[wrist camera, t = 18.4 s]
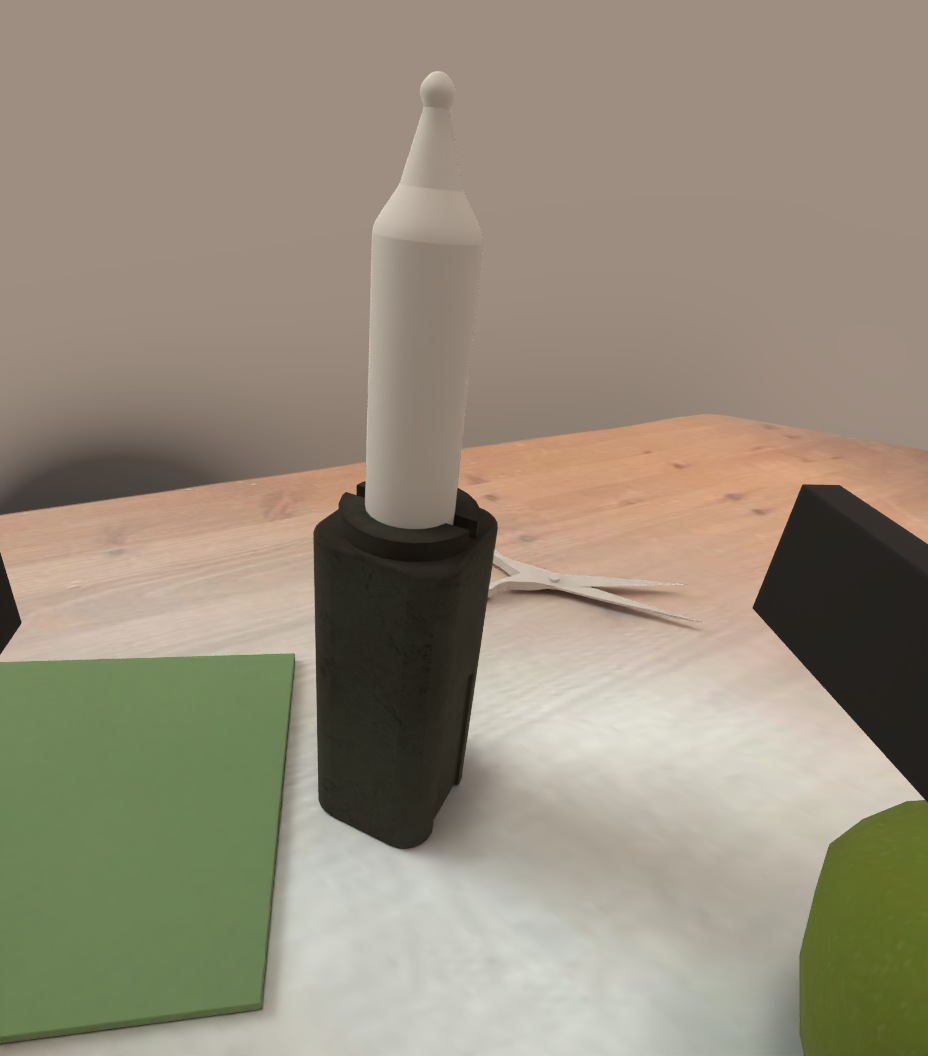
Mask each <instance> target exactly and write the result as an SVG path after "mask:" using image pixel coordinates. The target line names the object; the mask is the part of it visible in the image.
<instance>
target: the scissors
mask: <svg viewBox="0 0 928 1056" xmlns="http://www.w3.org/2000/svg"><path fill="white" fill-rule="evenodd" d="M493 564H495V565H497V566H498V567H500V568H501V569H503V570H504V571H505V572H507V573H508V574H509V575H511V576H509V577H506V578H503V579H500V580H497V581H494V582H491V583H490V584H489V591H488V598H490V597H492V596H493V595H494V594H495V593H498V592H501V591H504V590H507V589H509V590H541V589H551V590H555V589H557V590H561V591H565V592H569V593H573V594H577V595H581V596H585V597H589V598H592V599H596V600H600V601H604V602H609V603H613V604H617V605H621V606H626V607H630V608H635V609H639V610H644V611H648V612H652V613H657V614H661V615H665V616H670V617H674V618H679V619H685V620H690V621H696V622H700V621H697V620H694V619H691V618H688V617H685V616H681V615H678V614H675V613H672V612H669V611H666V610H662V609H659V608H656V607H653V606H650V605H647V604H643V603H640V602H637V601H633V600H630V599H626V598H623V597H620V596H617V595H614V594H611V593H608V592H605V591H602V590H599V589H595V588H591V587H594V586H650V585H688V584H678V583H667V582H656V581H646V580H635V579H624V578H611V577H597V576H581V575H565V574H556V573H554V572H551V571H549V570H546V569H542V568H539V567H535V566H531V565H527V564H524V563H521V562H517V561H514V560H511V559H507V558H505V557H503V556H502V555H500V554H499V553H498V552H497V551H496V549H495V550H494V557H493ZM702 623H704V622H702Z"/></svg>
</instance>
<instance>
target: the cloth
mask: <svg viewBox="0 0 928 1056" xmlns="http://www.w3.org/2000/svg"><path fill="white" fill-rule="evenodd" d="M294 662H295V654H264V655H231V656H197V657H164V658H131V659H98V660H65V661H31V662H0V1043H7V1042H15V1041H23V1040H30V1039H38V1038H45V1037H53V1036H60V1035H68V1034H76V1033H83V1032H91V1031H98V1030H106V1029H114V1028H121V1027H129V1026H136V1025H144V1024H152V1023H159V1022H167V1021H174V1020H182V1019H190V1018H197V1017H205V1016H212V1015H220V1014H227V1013H235V1012H243V1011H250V1010H258V1009H261V1007H262V997H263V986H264V976H265V965H266V955H267V944H268V934H269V924H270V913H271V903H272V892H273V882H274V871H275V861H276V850H277V840H278V829H279V819H280V809H281V798H282V788H283V777H284V767H285V756H286V746H287V735H288V725H289V714H290V704H291V694H292V683H293V673H294Z"/></svg>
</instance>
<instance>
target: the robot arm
mask: <svg viewBox="0 0 928 1056" xmlns="http://www.w3.org/2000/svg"><path fill="white" fill-rule="evenodd" d="M753 609H754V610H755V611H756V613H757V614H758V615H759V616H760V617H761V618H762V619H763V620H764V621H765V623H766V624H767V625H768V626H769V627H770V628H771V629H772V630H773V631H774V633H775V634H776V635H777V636H778V637H779V638H780V639H781V640H782V641H783V642H784V644H785V645H786V646H787V647H788V648H789V649H790V650H791V651H792V652H793V654H794V655H795V656H796V657H797V658H798V659H799V660H800V661H801V662H802V664H803V665H804V666H805V667H806V668H807V669H808V670H809V671H810V672H811V674H812V675H813V676H814V677H815V678H816V679H817V680H818V681H819V682H820V684H821V685H822V686H823V687H824V688H825V689H826V690H827V691H828V692H829V694H830V695H831V696H832V697H833V698H834V699H835V700H836V701H837V702H838V704H839V705H840V706H841V707H842V708H843V709H844V710H845V711H846V712H847V714H848V715H849V716H850V717H851V718H852V719H853V720H854V721H855V722H856V723H857V725H858V726H859V727H860V728H861V729H862V730H863V731H864V732H865V733H866V735H867V736H868V737H869V738H870V739H871V740H872V741H873V742H874V743H875V745H876V746H877V747H878V748H879V749H880V750H881V751H882V752H883V753H884V755H885V756H886V757H887V758H888V759H889V760H890V761H891V762H892V763H893V765H894V766H895V767H896V768H897V769H898V770H899V771H900V772H901V773H902V775H903V776H904V777H905V778H906V779H907V780H908V781H909V782H910V783H911V785H912V786H913V787H914V788H915V789H916V790H917V791H918V792H919V793H920V795H921V796H922V797H923V798H924V799H925V800H926V801H927V802H928V544H927V543H925V542H924V541H922V540H921V539H919V538H918V537H916V536H915V535H913V534H912V533H910V532H909V531H907V530H906V529H904V528H903V527H901V526H900V525H898V524H897V523H895V522H894V521H892V520H891V519H889V518H888V517H886V516H885V515H883V514H882V513H880V512H879V511H877V510H876V509H874V508H873V507H871V506H870V505H868V504H867V503H865V502H864V501H862V500H861V499H859V498H858V497H856V496H855V495H853V494H852V493H850V492H849V491H847V490H846V489H844V488H843V487H842V486H840V485H805V484H803V485H802V487H801V490H800V492H799V495H798V497H797V499H796V502H795V504H794V507H793V509H792V512H791V514H790V517H789V519H788V522H787V524H786V527H785V529H784V532H783V534H782V536H781V539H780V541H779V544H778V546H777V549H776V551H775V554H774V556H773V559H772V561H771V564H770V566H769V569H768V571H767V573H766V576H765V578H764V581H763V583H762V586H761V588H760V591H759V593H758V596H757V598H756V601H755V603H754V606H753ZM20 625H21V619H20V616H19V613H18V609H17V606H16V603H15V600H14V596H13V593H12V590H11V586H10V583H9V580H8V576H7V573H6V570H5V567H4V563H3V560H2V557H1V553H0V654H1V653H2V651H3V650H4V648H5V647H6V645H7V644H8V642H9V641H10V639H11V638H12V636H13V635H14V634H15V632H16V631H17V629H18V628H19V626H20Z"/></svg>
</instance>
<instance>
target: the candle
mask: <svg viewBox="0 0 928 1056" xmlns="http://www.w3.org/2000/svg"><path fill="white" fill-rule="evenodd" d="M420 95H421V99H422V102H423V105H424V109H423V112H422V115H421V118H420V121H419V124H418V128H417V131H416V134H415V137H414V140H413V143H412V146H411V150H410V153H409V156H408V159H407V162H406V165H405V169H404V172H403V175H402V178H401V181H400V184H399V186H398V187H397V189H396V190H395V192H394V193H393V195H392V196H391V198H390V199H389V201H388V202H387V203H386V205H385V206H384V208H383V209H382V211H381V213H380V214H379V216H378V218H377V219H376V221H375V223H374V226H373V230H372V258H371V260H372V261H371V296H370V299H371V300H370V334H369V335H370V336H369V374H368V410H367V412H368V413H367V448H366V481H365V482H362V483H360V484H358V485H357V495H354V494H350V493H347V492H346V493H344V494H343V495H342V497H341V500H340V502H339V509H338V510H337V511H335V512H334V513H332V514H331V515H329V516H328V517H327V518H325V519H324V520H322V521H321V522H320V523H319V524H318V525H316V527H315V530H314V532H313V533H314V586H315V638H316V690H317V742H318V793H319V802H320V804H321V807H322V808H323V809H324V810H325V811H326V812H327V813H328V814H330V815H331V816H333V817H335V818H337V819H339V820H341V821H343V822H345V823H347V824H349V825H351V826H353V827H355V828H357V829H359V830H361V831H363V832H365V833H367V834H369V835H371V836H373V837H375V838H377V839H379V840H381V841H383V842H385V843H387V844H389V845H392V846H395V847H398V848H410V847H414V846H417V845H419V844H421V843H422V842H424V841H425V840H426V839H427V838H428V837H429V836H430V834H431V833H432V828H433V820H434V818H435V816H436V815H437V813H438V811H439V809H440V808H441V806H442V804H443V802H444V800H445V799H446V797H447V795H448V793H449V792H450V790H451V788H452V786H453V785H458V784H459V782H460V780H461V777H462V770H463V763H464V757H465V750H466V743H467V736H468V729H469V722H470V715H471V708H472V701H473V695H474V688H475V681H476V674H477V667H478V660H479V653H480V646H481V639H482V632H483V626H484V619H485V612H486V605H487V598H488V591H489V584H490V577H491V570H492V564H493V557H494V550H495V543H496V536H497V529H498V527H497V521H496V519H495V518H494V517H493V516H492V515H491V514H490V513H489V512H487V511H486V510H484V509H481V508H479V506H478V504H477V502H476V501H475V500H474V499H473V498H472V497H471V496H470V495H469V494H468V493H466V492H464V491H462V490H461V489H459V488H458V478H459V469H460V459H461V450H462V440H463V431H464V430H463V429H464V421H465V412H466V402H467V393H468V383H469V374H470V364H471V355H472V345H473V336H474V327H475V316H476V308H477V298H478V288H479V279H480V270H481V259H482V251H483V234H482V232H481V230H480V227H479V225H478V222H477V220H476V217H475V215H474V213H473V211H472V209H471V207H470V205H469V203H468V200H467V198H466V196H465V194H464V191H463V186H462V180H461V175H460V168H459V163H458V157H457V151H456V145H455V139H454V133H453V127H452V121H451V116H450V108H451V106H452V104H453V102H454V100H455V96H456V92H455V87H454V85H453V83H452V81H451V80H450V78H449V77H448V76H447V75H446V74H445V73H443V72H433V73H431V74H429V75H428V76H427V78H426V79H425V80H424V82H423V83H422V85H421V87H420Z"/></svg>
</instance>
